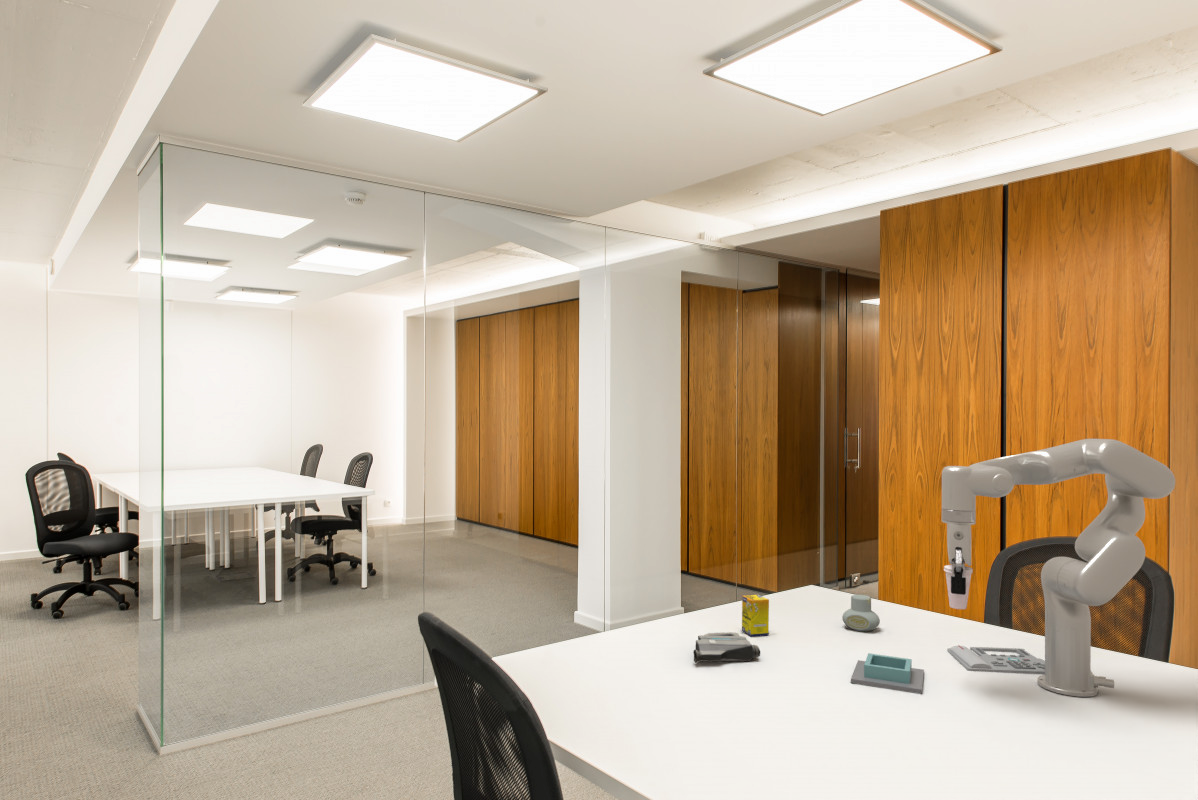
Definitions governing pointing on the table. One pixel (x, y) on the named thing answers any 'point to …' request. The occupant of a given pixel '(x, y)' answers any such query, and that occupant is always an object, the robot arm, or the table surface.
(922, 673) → the mount
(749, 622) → the supplement box
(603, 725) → the table surface
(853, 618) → the air freshener
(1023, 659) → the office telephone
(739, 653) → the camcorder
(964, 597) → the smoothie
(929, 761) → the table surface
